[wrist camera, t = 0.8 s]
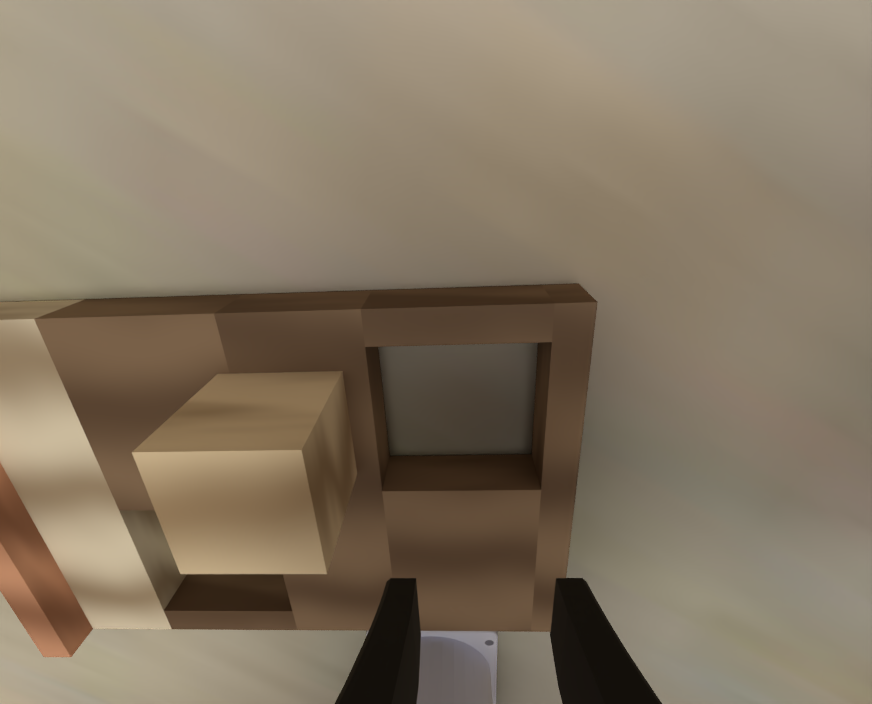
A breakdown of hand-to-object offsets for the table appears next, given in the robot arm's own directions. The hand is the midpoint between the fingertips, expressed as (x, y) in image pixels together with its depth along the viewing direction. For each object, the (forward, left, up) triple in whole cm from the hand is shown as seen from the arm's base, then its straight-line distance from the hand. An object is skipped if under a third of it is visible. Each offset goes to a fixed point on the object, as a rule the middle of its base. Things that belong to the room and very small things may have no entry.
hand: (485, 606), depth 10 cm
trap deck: (-4, +9, -10) cm, 14 cm away
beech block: (0, +8, -8) cm, 11 cm away
